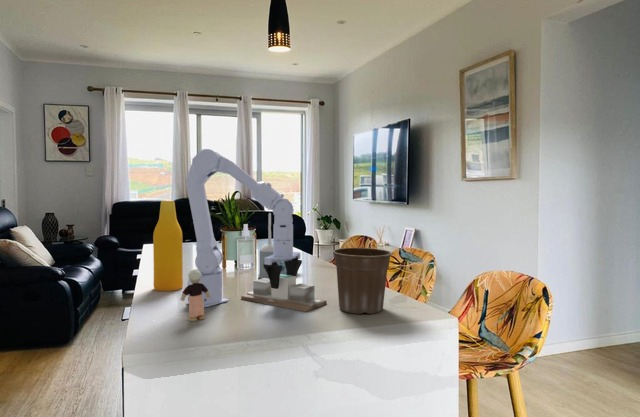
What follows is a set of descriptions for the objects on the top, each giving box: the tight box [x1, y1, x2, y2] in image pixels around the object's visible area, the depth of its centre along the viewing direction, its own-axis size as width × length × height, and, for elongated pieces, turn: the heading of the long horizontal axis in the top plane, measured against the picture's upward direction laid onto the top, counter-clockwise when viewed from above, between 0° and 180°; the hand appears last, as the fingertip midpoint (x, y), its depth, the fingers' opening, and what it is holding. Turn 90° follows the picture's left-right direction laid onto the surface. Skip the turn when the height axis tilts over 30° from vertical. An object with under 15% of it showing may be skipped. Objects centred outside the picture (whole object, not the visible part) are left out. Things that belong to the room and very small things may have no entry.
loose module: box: [271, 274, 297, 299], centre depth 133 cm, size 4×6×6 cm, turn 56°
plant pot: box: [332, 247, 393, 315], centre depth 125 cm, size 16×16×16 cm
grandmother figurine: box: [180, 268, 210, 322], centre depth 115 cm, size 8×4×13 cm, turn 141°
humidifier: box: [257, 212, 279, 280], centre depth 154 cm, size 8×8×25 cm
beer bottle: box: [152, 200, 184, 292], centre depth 150 cm, size 9×9×29 cm
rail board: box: [240, 278, 327, 312], centre depth 133 cm, size 10×24×6 cm, turn 56°
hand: (283, 286), depth 133 cm, fingers open, 7 cm apart
